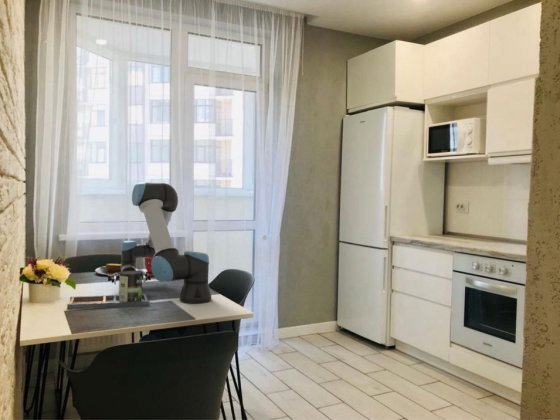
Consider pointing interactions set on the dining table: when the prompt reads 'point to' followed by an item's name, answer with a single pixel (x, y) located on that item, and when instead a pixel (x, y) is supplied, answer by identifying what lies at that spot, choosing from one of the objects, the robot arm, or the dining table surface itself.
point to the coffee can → (130, 286)
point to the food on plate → (110, 269)
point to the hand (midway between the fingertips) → (130, 281)
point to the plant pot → (148, 265)
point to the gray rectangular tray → (102, 302)
